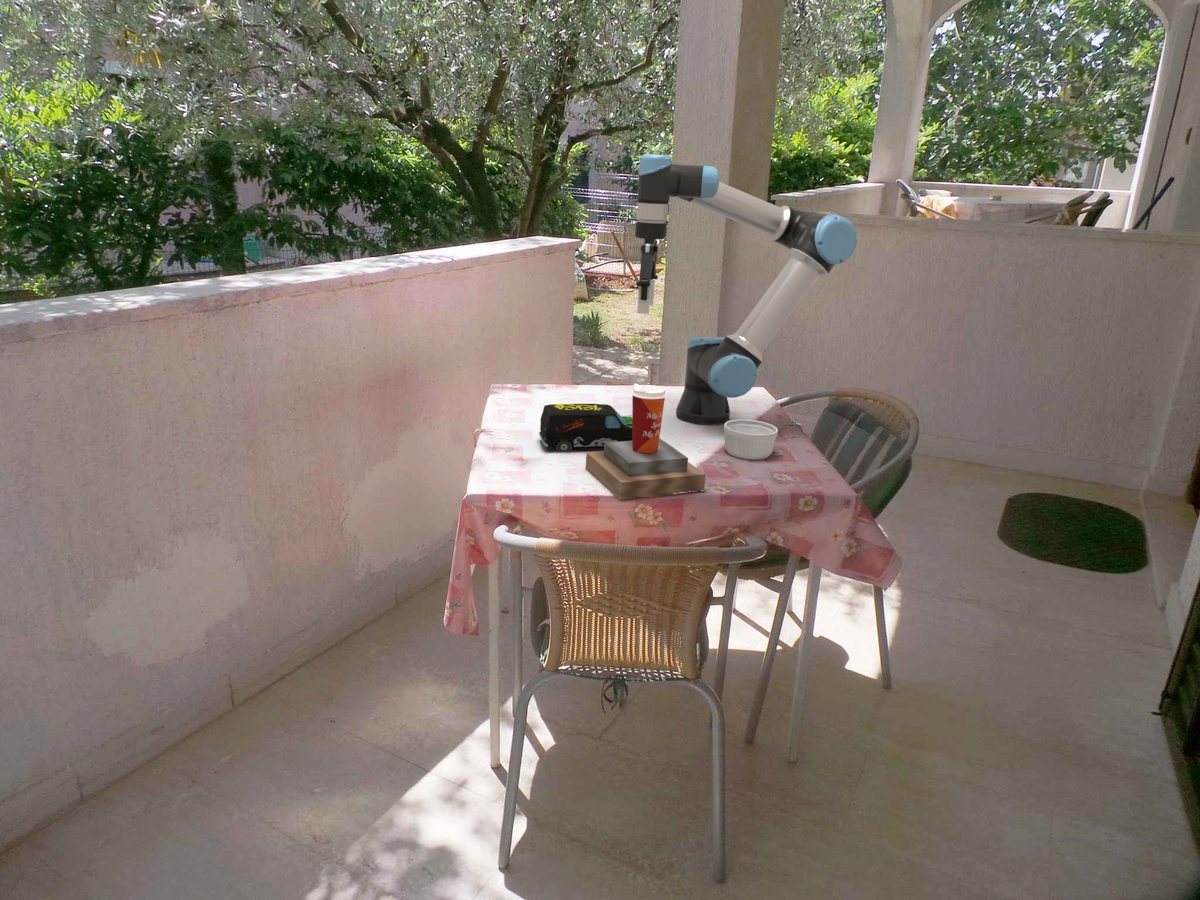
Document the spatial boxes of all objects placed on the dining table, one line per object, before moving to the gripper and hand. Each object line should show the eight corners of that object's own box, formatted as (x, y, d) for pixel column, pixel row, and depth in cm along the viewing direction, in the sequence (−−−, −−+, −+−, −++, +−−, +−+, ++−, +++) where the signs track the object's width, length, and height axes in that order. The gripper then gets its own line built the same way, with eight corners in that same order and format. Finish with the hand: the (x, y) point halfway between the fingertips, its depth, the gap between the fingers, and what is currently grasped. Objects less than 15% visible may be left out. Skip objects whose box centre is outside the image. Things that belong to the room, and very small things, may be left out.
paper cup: (651, 457, 184) (656, 395, 179) (621, 450, 187) (625, 388, 183) (668, 449, 190) (673, 388, 186) (638, 442, 194) (642, 382, 189)
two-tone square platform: (663, 461, 203) (665, 433, 201) (704, 491, 186) (706, 461, 183) (585, 468, 196) (587, 439, 193) (620, 500, 178) (621, 468, 176)
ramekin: (782, 452, 215) (786, 426, 213) (762, 465, 204) (765, 438, 202) (734, 441, 222) (737, 416, 219) (712, 453, 211) (715, 427, 209)
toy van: (643, 451, 210) (646, 412, 207) (544, 453, 205) (545, 413, 202) (632, 438, 220) (635, 401, 217) (537, 440, 215) (538, 401, 211)
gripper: (640, 218, 218) (635, 300, 225) (630, 223, 195) (625, 315, 202) (669, 219, 218) (663, 302, 224) (663, 225, 194) (656, 318, 201)
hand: (645, 309), depth 213 cm, fingers open, 13 cm apart
